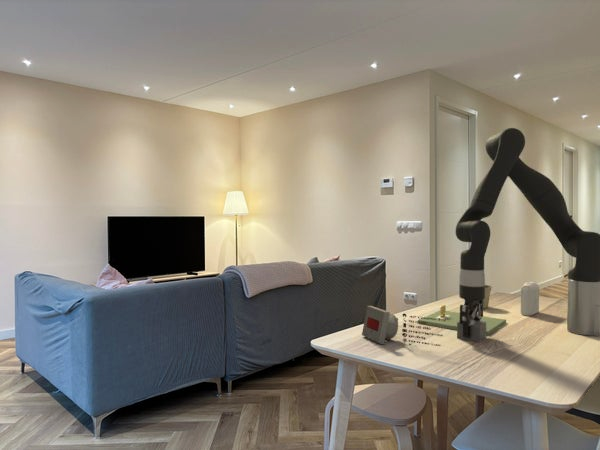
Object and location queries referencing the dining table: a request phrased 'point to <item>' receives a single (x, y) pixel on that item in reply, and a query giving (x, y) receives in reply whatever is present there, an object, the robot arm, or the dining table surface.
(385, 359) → the dining table surface
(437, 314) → the board
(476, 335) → the block
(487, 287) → the flower pot
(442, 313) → the header pins
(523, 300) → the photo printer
